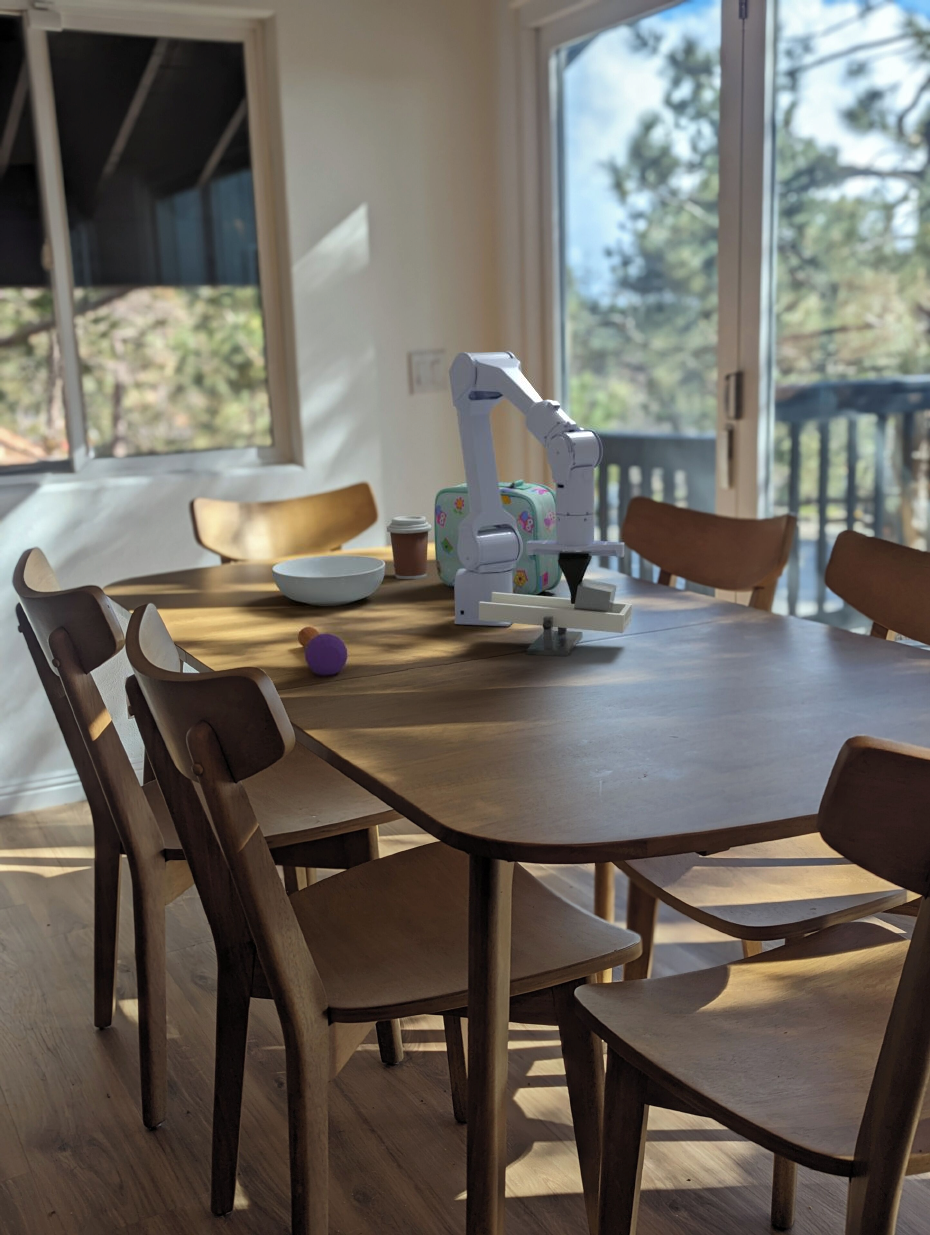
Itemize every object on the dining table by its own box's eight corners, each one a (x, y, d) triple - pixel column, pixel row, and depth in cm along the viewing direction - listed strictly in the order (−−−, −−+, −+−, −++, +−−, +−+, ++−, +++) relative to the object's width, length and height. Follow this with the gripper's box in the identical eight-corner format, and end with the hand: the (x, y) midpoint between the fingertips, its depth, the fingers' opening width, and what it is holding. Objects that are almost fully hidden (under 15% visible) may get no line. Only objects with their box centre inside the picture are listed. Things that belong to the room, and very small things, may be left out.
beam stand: (527, 654, 170) (526, 618, 169) (545, 634, 181) (544, 601, 180) (566, 656, 168) (566, 619, 167) (582, 636, 179) (582, 602, 178)
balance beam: (478, 620, 173) (479, 602, 172) (492, 608, 180) (493, 592, 180) (622, 633, 167) (623, 615, 166) (631, 620, 174) (632, 603, 174)
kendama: (329, 620, 179) (353, 639, 160) (325, 657, 179) (348, 681, 160) (291, 616, 177) (311, 635, 158) (287, 654, 178) (305, 677, 159)
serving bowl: (252, 609, 206) (249, 572, 205) (309, 587, 225) (307, 553, 223) (354, 616, 198) (352, 577, 197) (405, 592, 217) (404, 557, 216)
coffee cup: (379, 578, 232) (377, 519, 229) (405, 570, 239) (403, 514, 236) (417, 582, 227) (414, 522, 224) (441, 574, 234) (439, 516, 232)
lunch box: (574, 593, 212) (574, 478, 207) (541, 603, 204) (540, 484, 199) (464, 579, 229) (461, 472, 224) (430, 587, 221) (426, 477, 216)
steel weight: (572, 614, 170) (578, 585, 169) (579, 606, 175) (584, 578, 174) (605, 621, 169) (611, 592, 168) (611, 613, 174) (616, 585, 172)
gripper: (520, 516, 168) (522, 606, 171) (619, 517, 163) (618, 610, 166) (532, 509, 174) (533, 596, 177) (626, 511, 170) (626, 600, 173)
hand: (575, 602), depth 172 cm, fingers closed, pressing on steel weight
